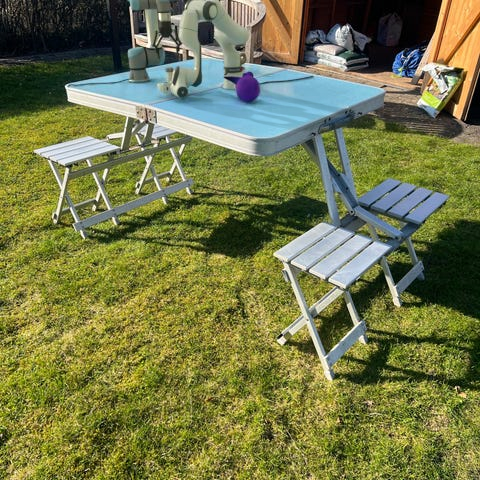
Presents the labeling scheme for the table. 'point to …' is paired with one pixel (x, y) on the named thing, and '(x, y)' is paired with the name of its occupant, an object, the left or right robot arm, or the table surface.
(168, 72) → the cream long cylinder
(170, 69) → the lid
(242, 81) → the toy
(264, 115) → the table surface
